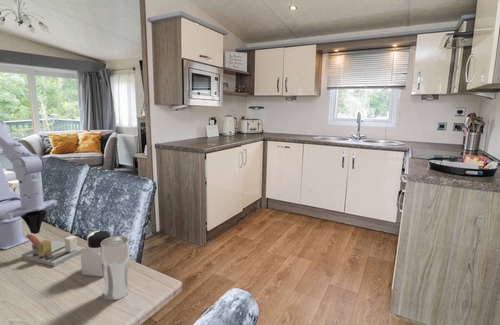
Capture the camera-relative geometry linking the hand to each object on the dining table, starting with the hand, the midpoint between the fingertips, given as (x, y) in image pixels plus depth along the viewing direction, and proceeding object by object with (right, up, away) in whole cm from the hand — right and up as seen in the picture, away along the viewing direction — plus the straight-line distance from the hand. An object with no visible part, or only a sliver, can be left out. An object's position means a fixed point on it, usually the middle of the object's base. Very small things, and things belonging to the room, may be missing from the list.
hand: (35, 232), depth 90 cm
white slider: (+11, -6, +2) cm, 13 cm away
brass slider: (+5, -7, -2) cm, 8 cm away
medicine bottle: (+25, -10, -6) cm, 27 cm away
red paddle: (0, -5, +2) cm, 6 cm away
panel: (+5, -8, +2) cm, 10 cm away
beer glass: (+35, -12, -16) cm, 40 cm away
